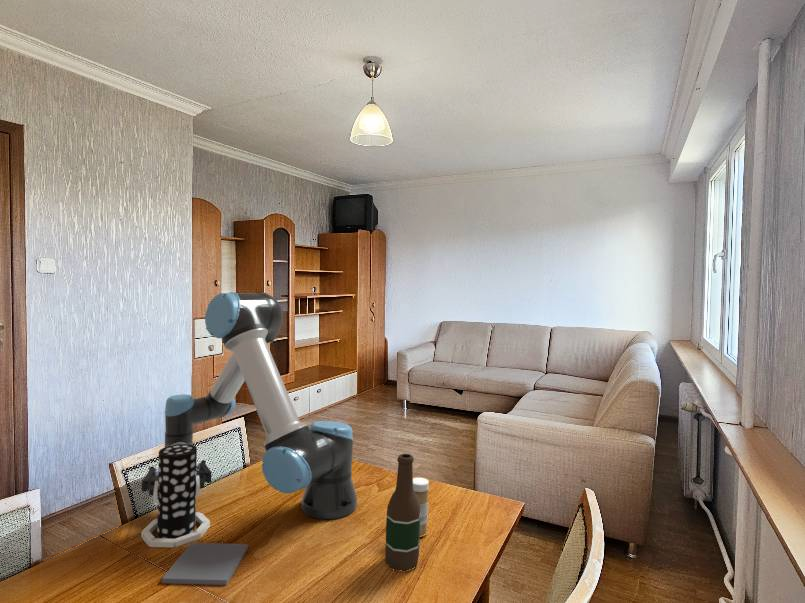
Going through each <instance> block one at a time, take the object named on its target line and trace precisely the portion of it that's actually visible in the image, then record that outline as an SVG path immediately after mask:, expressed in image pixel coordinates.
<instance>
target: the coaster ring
mask: <svg viewBox="0 0 805 603" xmlns="http://www.w3.org/2000/svg"><path fill="white" fill-rule="evenodd" d="M195 521H196V522H198V523H199V527H198V528H197V529H195V530H194V532H192V533H190V534H187V535H185V536H182V537H179V538H176V539H165V538H159V537H155V536H154V535H153V532H154V531H155V530H156V529H157V525H158V517H156V518H155V519H153V520H152V521H151V522H150V523H149V524H148V525H146V527H145V528H144V529H142V530H141V533H140V534H141V535H140V536H141V539H142V540H143V541H144V542H145V544H146V545H147V546H148V547H150V548H170V549H171V548H177V547H179V546H180V547H181V546H183V545H186V544H190V543H192V542H193V541H197V540H199V539H201V538H202V537H203V536H204V534H205V533H206V532H207V530H208V529H209V528H210V527H211V520H210V519H209V518H208V517H206V516H205V514H203V513H202V512H199V511H198V512H197V511H196V515H195Z"/></svg>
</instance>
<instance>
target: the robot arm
mask: <svg viewBox="0 0 805 603" xmlns="http://www.w3.org/2000/svg"><path fill="white" fill-rule="evenodd" d="M283 313H284V312H283V309H282V307H281V304H280V302H279V301H278V300H277V299H276V298H275V297H274V296H272V295H270V294H268V293H264V292H233V291H230V292H225V293H224V292H223V293H222V292H221V293H217V295H215V296H214V297H212V298H211V300H210V301H209V303H208V304H207V307H206V311H205V314H204V321H205V322H204V323H205V328H206V330H207V332H208V334H210V336H212V337H214V338H215V339H221V341H222V344H223V346H224V348H225V349H226V350H228V351H230V352H232V353H231V355H230V357H228V360H227V361H226V363H225V365H224V367H222V368H223V369H222V370H221V372H220V374H219V375H218V377H217V378H216V380H215V381H214V383H213V386H212V387H211V388H210V391H209V392H208V394H207V395H206V396H202V397H198V398H194V395H192V394H187V393H186V394H175V395H174V394H173V395H171V396H169V397H168V398H167V399H166V401H165V409H164V415H165V416H164V418H165V421H164V422H165V426H164V427H165V432H164V448H165V447H168V446H172V445H178V444H190V445H194V439H193V438H194V426H195V425H197V424H201V423H205V422H208V421H212V420H216V419H220V418H224V417H225V416H228V415H230V414H232V413H233V412H234V411H235V409H236V403H237V402H236V399H235V397H236V395H237V394H238V393H239V391H240V389H241V387H242V385H243V384H244V383H245V384H246V387H247V389H248V392H249V394H250V397H251V400H252V402H253V405H254V406H255V409H256V412H257V415H258V417H259V420H260V423H261V425H262V426H263V427H262V428H263V429H264V432H265V434H266V439H265V441H264V444H263V447H264V450H265V453H264V455H263V457H262V460H261V462H262V464H261V470H262V474H263V476H264V479H265V480H266V482H267V483H268V485H270V487H272V489H274V490H275V491H278V492H280V493H282V494H292V493H296V492H298V491H301V490H303V489H304V492H303V495H302V498H301V510H302V512H303V513H304V514H305V515H307V516H309V517H311V518H315V519H318V520H334V519H340V518H343V517H347V516H348V515H350V514H352V513H354V512H355V511H356V509H357V507H358V497H357V496H358V495H357V493H356V488H355V485H354V482H353V479H352V474H353V473H352V471H353V470H352V469H353V442H354V437H353V436H354V435H353V428H352V427H351V426H350V425H349V424H348V423H345V422H341V421H334V420H333V421H332V420H318V421H314V422H312V423H311V424H310V427H309V425H308V423H305V422H301V421H300V419H299V416H298V414H297V412H296V410H295V407H294V405H293V403H292V400H291V397H290V395H289V392H288V390H287V389H286V386H285V383H284V381H283V379H282V376H281V375H280V372H279V370H278V367H277V364H276V362H275V360H274V358H273V354H272V353H271V350H270V347H269V346H268V344H271V343H273V342H274V341H275V339H276V338H277V336H278V335H279V333H280V331H281V328H282V325H283V320H284V316H283V315H284V314H283ZM205 483H207V484H209V483H212V471H211V469H210V468H209V467H208V465H207V461H206V460H204V459H203V460H201V461H200V462H198V463H197V465H196V498H200V497H201V495H200V494H201V492H200V491H201V489H203V488H205ZM147 491H148V496H152V497H153V499H152V500H153V503H152V504H153V505H156V504H158V467H155V466H154V465H153V466H149V468H148V472H147V473H146V475H145V476H144V477H143V479H142V480H141V492H142V493H144V492H145V493H146V492H147Z"/></svg>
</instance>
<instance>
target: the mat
mask: <svg viewBox="0 0 805 603" xmlns="http://www.w3.org/2000/svg"><path fill="white" fill-rule="evenodd" d="M248 549H249V544H248V543H221V542H220V543H218V542H217V543H215V542H190V543H189V544H188V546H187V547H186V548H185V550H183V552H182V553H181V555H180V556H179V557H178V558H177V559H176V560H175V562H174V563H173V565H172V566H171V567H170V568H169V569H168V571H167V572H166V573H165V574H164V575H163V576H162V578H161V583H162V584H175V585H176V584H178V585H183V584H184V585H211V586H212V585H216V586H217V585H218V586H219V585H220V586H227V585H228V583H229V581H230V580H231V578H232V577H233V575H234V573H235V571H236V570H237V568H238V566H239V565H240V563H241V561H242V559H243V557H244V556H245V554H246V552H247V551H248Z"/></svg>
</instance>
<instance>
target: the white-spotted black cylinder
mask: <svg viewBox="0 0 805 603" xmlns="http://www.w3.org/2000/svg"><path fill="white" fill-rule="evenodd" d="M197 450H198V448H197V446H196V445H194V444H193V445H190V444H178V445H172V446H168V447H165V446H164V447H163V448H161V449H159V450H158V467H157V469H158V499H157V518H158V525H157V528H156V529H157V532H156V533H157V534H156V536H157V538H165V539H176V538H179V537H182V536H185V535H187V534H190V533H193V532H195V531H196V520H195V515H196V512H197V511H196V507H197V506H196V504H197V501H196V500H197V499H196V498H197V497H196V470H197V469H196V465H197V464H198V463H197V461H198V460H197V458H198V457H197V456H198V454H197V453H198V452H197Z"/></svg>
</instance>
